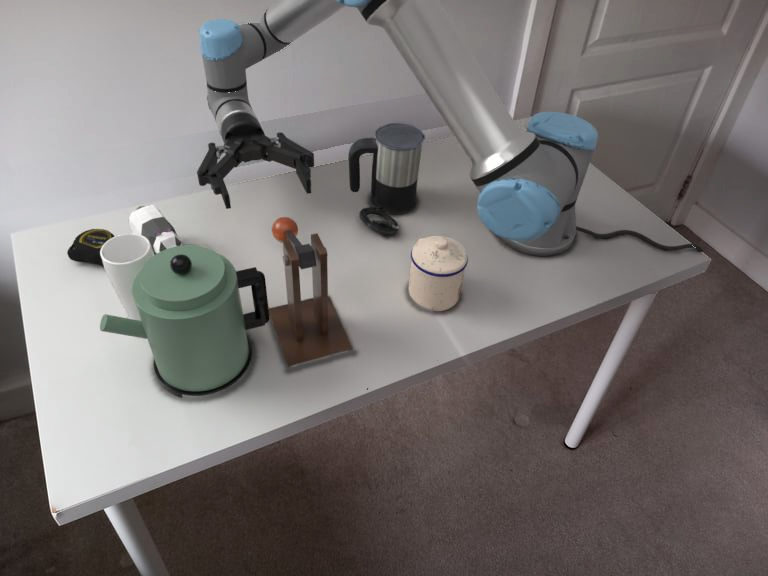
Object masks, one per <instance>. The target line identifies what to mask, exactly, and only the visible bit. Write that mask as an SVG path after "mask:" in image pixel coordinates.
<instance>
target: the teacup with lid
mask: <svg viewBox="0 0 768 576" xmlns="http://www.w3.org/2000/svg"><path fill="white" fill-rule="evenodd" d="M410 259H411V263H410V270H409V271H410V272H409V279H408V288H407V289H408V293H409V296H410V298H411V299H412V300H413V301H414V302H415V303H417V304H418V305H420V306H422V307H425V308H428V309H431V311H432V312H442V311H447V310H449V309H451V308H453V307H454V306H455V305H456V304H457V303H458V301H459V298H460V294H461V289H462V284H463V279H464V274H465V270H466V267H467V266H468V263H469V256H468V252H467V251H466V249H465V247H464V246H463V245H462V244H461V243H460V242H458V241H457V240H456V239H453V238H450V237H448V236H447V237H446V236H443V235H430V236H427V237H420V238H419V239H418V240H417V242H416V243H415V244H414V245H413V247H412V249H411V251H410Z"/></svg>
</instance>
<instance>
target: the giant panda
mask: <svg viewBox="0 0 768 576" xmlns="http://www.w3.org/2000/svg"><path fill="white" fill-rule="evenodd" d="M128 223H129V230H130V233H133V234H139V235H142V236H144V237H146V238H147V239H148V240H149V241H150V244H151V247H152V249H153V252H154V255H156V254H157V253H159V252H161V251H163V250H166V249H169V248H172V247H176V246H182V245H183V243H182V241H181V239H180V237H179V236H178V234H177V231H176V230H175V227H174V226H173V225H172V224H171V223H170V221H168V219H167V218H166V217H165V216H164V214H163V213H162V212H161V210H160V208H158V207H157V206H156V205H155V204H151V205H146V206H145V205H141V206H138V207H137V208H135V210H134V211H132V212H131V213H130V215H129V218H128Z"/></svg>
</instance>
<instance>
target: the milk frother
mask: <svg viewBox="0 0 768 576" xmlns="http://www.w3.org/2000/svg"><path fill="white" fill-rule="evenodd" d="M426 138H427V137H426V135H425V133H424V132H423V131H422V130H421V129H420V128H419V127H416V126H415V125H411V124H409V123H404V122H403V123H401V122H391V123H390V122H389V123H386V124H383V125H381V126H379V127H378V128H376V130H375V132H374V137H362V138H359V139H357V140H356V141H354V142H353V143H352V144H351V146H350V147H349V150H348V155H347V157H348V158H347V159H348V178H349V179H348V180H349V189H350V191H351V192H352V193H359V191H360V189H361V169H360V167H361V165H360V158H361V156H363V155H365V154H373V155H372V164H371V182H370V183H371V184H370V202H371V205H372V206H369V207H363V208H361V210H360V211H359V213H358V217H359V219H360V220H361V222H362V223H363V225H365V226H367V227H368V229H370V230H372V231H373V232H375V233H377V234H380V235H382V236H386V237H392V236H395V235H397V234H398V232H399V223H398V222H397V220H396V219H395V218H394V217H392V216H390V215H402V214H406V213H409V212H411V211H412V210H414V209H415V207H416V206H417V203H418V201H417V199H418V198H417V190H418V189H417V188H418V181H419V171H420V163H421V158H422V151H423V150H422V149H423V144H424V142H425V139H426ZM369 215H373V216H378V217H379V218H383V219H384V220H381V219H379V220H375V219H372V220H371V219H370V217H368V216H369Z"/></svg>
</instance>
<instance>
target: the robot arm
mask: <svg viewBox="0 0 768 576" xmlns="http://www.w3.org/2000/svg"><path fill="white" fill-rule="evenodd" d="M269 6H270V7H269ZM269 6H268V7H269V8H268V7H267V8H268V9H267V10H266V12H265V13H264V15H263V16H262V18H261V20H260V23H250V24H249V23H248V24H242V25H238V24H239V23H237V22H236V21H234V20H231V19H226V18H216V19H213V20H212V19H211V20H207V21H206V22H204V23H202V25H201V26H200V27H199V44H200V47H199V49H200V54H201V57H202V62H203V63H202V64H203V68H204V75H205V79H206V92H207V96H206V100H207V106H208V109H209V110H210V112H211V114H212V117H213V119H214V121H215V123H216V126H217V129H218V132H219V133H220V136H221V140H222V141H223V145H216V143H215V142H209V143H208V144H207V147H208V151H207V152H206V154H205V156H204V158H203V159H202V161H201V163H200V165H199V167H198V169H197V171H196V175H197V180H198V185H199V186H201V187H205V186H207V185H210V188H211V190H212V192H213V194H214V195H215V196H218V195H221V198H222V200H223V203H224V206H225V209H226V210H228V209H229V210H230V209H232V206H231V199H230V193H229V191H228V188H227V185H226V182H225V180H224V179H225V178H226V177H227V176H228V174H230V172H231V171H232V170H233V169H234V168H238V166H239V165H241V164H242V163H249V162H252V161H261V160H263V161H265V162H269V163H270V162H272V161H273V162H275V163H277V164H280V165H283V166H286V167H289V168H292V169H294V170H295V174H296V176H297V177H298V180H299V181H300V184H301V185H302V187H303V190H304V191H305V193H306V195H310V194H312V179H311V178H312V169H311V168H314V167H315V153H314V152H313V151H311V150H309V149H307V148H306V147H304V146H302V145H300V144H299V143H297V142H295V141H293V140H291V139H290V138H288V137H287V136H286V135H285V134H284V132H282V131H281V132H280V131H279V132H277V133H276V137H271V138H270V137H269V136H267V135H266V133H265V131H264V129H263V127H262V125H261V123H260V122H259V119H258V117H257V116H256V115H257V114H256V113H255V111H254V109H253V108H252V106H251V103H250V100H249V91H248V85H247V84H248V82H247V70H246V69H248V68H251V67H253V66H254V65H256V64H258V63H260V62H262V61H263V60H265V59H267V58H268V57H270V56H273V55H275V54H276V52H277V53H279V52H281V51H280V50H281V49H283V48H284V47H286V46H287V45H289V44H290V43H291V42H293V43H294V41H296V40H297V39H299V38H300V37H302V36H303V35H306V33H308V32H309V31H311V30H312V29H314V28H316V27H317V26H318V25H320V24H322V23H323V22H325V21H326V20H328V19H330V18H331V17H332V16H334V15H335V14H337V13H338V12H340V11H342V10H343V9H345V8H346V7H349V8H356V9H357V10H358V11H359V13H360V15H361V16H362V18H363V19H364V21H365V22H366V24H367V25H370V26H376V27H379V28H381V29H383V31H385V33H386V35H387V36H388V38H389V39H390V41H391V42H392V44H393V45H394V47H395V48H396V50H397V51H398V53H399V54H400V56H401V58H402V59H403V60H404V62H405V64H406V66H408V68H409V69H410V71H411V73H412V74H413V75H414V77H415V78H416V80H417V81H418V83H419V85H420V86H421V88H422V89H423V90H424V92H425V93H426V95H427V97H428V98H429V99H430V101H431V103H432V104H433V105H434V106H433V107H435V109H436V110H437V112H438V113H439V115H440V116H441V118H442V120H443V121H444V122H445V124H446V125H447V127H448V128H449V130H450V131H451V133H452V134H453V136H454V137H455V139H456V141H457V142H458V144H460V146H461V149H463V151H464V152H465V154H466V155H467V157H468V159H469V160H470V163H471V167H470V171H469V178H470V180H471V182H472V183H473V184H474V185H475V187H476V189H477V190H478V192H479V195H478V197H477V206H476V210H477V215H478V217H479V219H480V221H481V222H482V224H483V225H484V226H485V227H486V229H487V230H489V231H490V232H491V233H492V234H494V235H495V236H497V237H498V238H499V239H500V241H502V242H503V243H505V245H507V246H508V247H510V248H512V249H514V250H516V251H518V252H521V253H524V254H527V255H531V256H540V257H545V256H546V257H547V256H554V255H555V256H556V255H559V254H561V253H563V252H565V251H567V250H568V249H569V248H570V247H571V246H572V244H573V242H574V240H575V236H576V234H577V231H578V232H581V233H584V234H587V235H589V236H592V237H594V238H598V239H608V238H613V237H615V236H620V235H631V236H635V237H637V238H639V239H641V240H642V241H644V242H646V243H648V244H649V245H651V246H653V247H655V248H657V249H660V250H664V251H679V250H680V251H681V250H685V249H695V250H697V249H698V250H697V251H698V252H699V253H703V252H704V250H703V248H702V246H700V245H699V244H696V243H685V244H680V245H673V246H672V245H666V244H665V245H664V244H661V243H658V242H657V241H656V240H655V241H654V240H652V239H651V238H649V237H647V236H646V235H645V234H642V233H640V232H638V231H635V230H629V229H620V230H616V231H613V232H610V233H604V234H603V233H598V232H595V231H592V230H590V229H586V228H584V227H581V226H579V225H577V215H576V205H577V200H578V198H579V195H580V192H581V190H582V186H583V183H584V180H585V178H586V175H587V171H588V169H589V166H590V163H591V160H592V157H593V154H594V151H596V150H597V143H598V139H599V134H598V130H597V129H596V127H595V126H594V125H592V124H591V123H590V122H588V121H587V120H585V119H583V118H581V117H579V116H577V115H573V114H569V113H565V112H560V111H542V112H541V111H540V112H537V113H535V114H534V115H532V116H531V117H530V118H529V122H528V124H527V125H526V126H525V130H526V131H525V130H522V129H520V128H519V126H518V124H517V123H516V122H515V120H514V119H513V117H512V115H511V113H510V112H509V110H508V109H507V107H506V106H505V103H503V101H502V100H501V98H500V97H499V94H498V93H497V91H496V90H495V88H494V87H493V85H492V84H491V82H490V80H489V79H488V77H487V76H486V74H485V72H484V70H483V69H482V68H481V66H480V64H479V62H478V61H477V59H476V58H475V57H474V55H473V53H472V52H471V50H470V49H469V47H468V45H467V43H466V42H465V40H464V39H463V37H462V35H461V34H460V32H459V31H458V29H457V28H456V25H455V24H454V23H453V21H452V20H451V18H450V17H449V15H448V13H447V12H446V9H445V8H444V6H443V5H442V4H441V2H440V0H275V1H274V2H273V3H272V4H270V5H269ZM290 45H291V44H290ZM290 45H289V46H290ZM283 50H284V49H283ZM278 51H279V52H278ZM274 53H275V54H274ZM207 90H208V91H207ZM215 91H216V92H215ZM235 91H236V92H235ZM228 92H230V93H228ZM223 154H225V155H224V156H223V157H221V156H222V155H223ZM692 245H693V246H694V247H696V248H694V247H693V246H692Z"/></svg>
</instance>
